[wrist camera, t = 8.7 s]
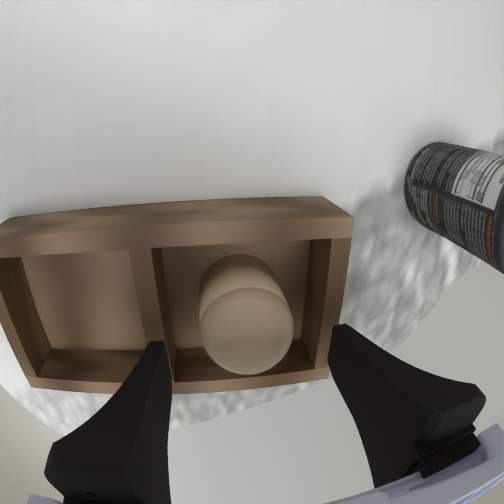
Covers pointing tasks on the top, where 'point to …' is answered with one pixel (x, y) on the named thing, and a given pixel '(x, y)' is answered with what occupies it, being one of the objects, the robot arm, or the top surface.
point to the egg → (244, 315)
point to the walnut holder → (164, 287)
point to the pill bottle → (460, 198)
